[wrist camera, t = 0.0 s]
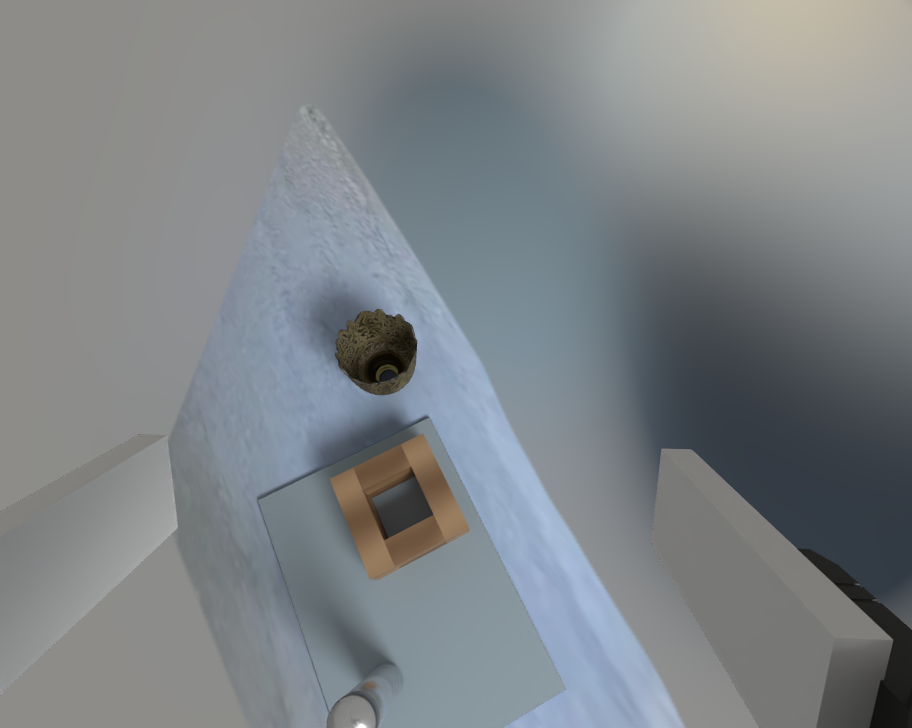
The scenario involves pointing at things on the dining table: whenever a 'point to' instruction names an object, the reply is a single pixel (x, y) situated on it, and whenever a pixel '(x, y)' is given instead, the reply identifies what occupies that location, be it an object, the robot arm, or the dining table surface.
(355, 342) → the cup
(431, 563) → the mat
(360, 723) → the metal cylinder rod
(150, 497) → the robot arm
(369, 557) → the wooden block with hole
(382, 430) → the dining table surface
